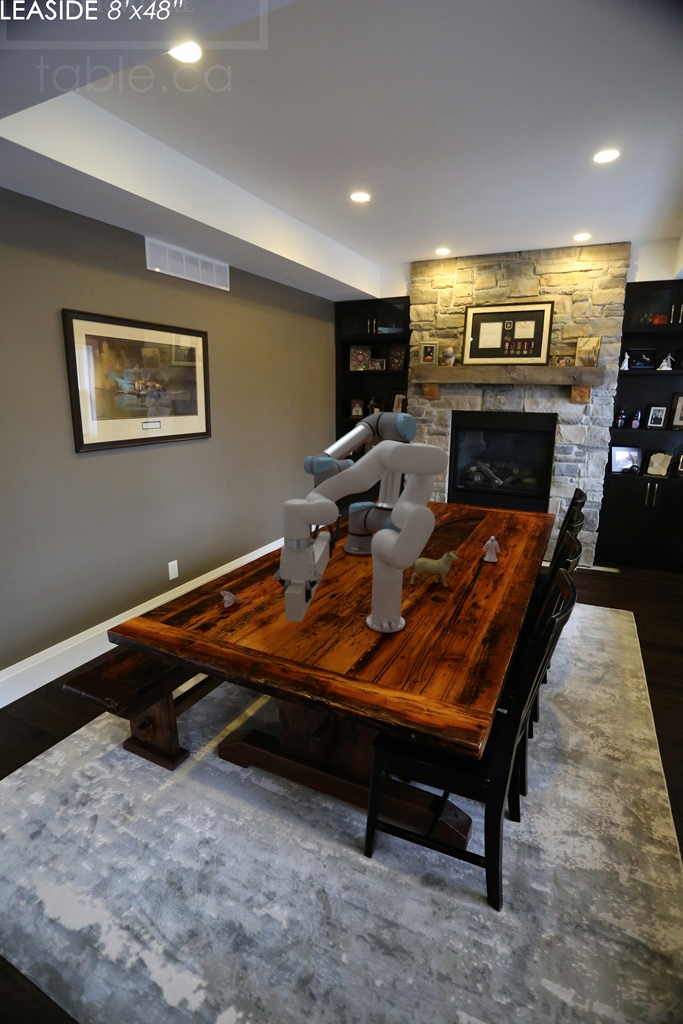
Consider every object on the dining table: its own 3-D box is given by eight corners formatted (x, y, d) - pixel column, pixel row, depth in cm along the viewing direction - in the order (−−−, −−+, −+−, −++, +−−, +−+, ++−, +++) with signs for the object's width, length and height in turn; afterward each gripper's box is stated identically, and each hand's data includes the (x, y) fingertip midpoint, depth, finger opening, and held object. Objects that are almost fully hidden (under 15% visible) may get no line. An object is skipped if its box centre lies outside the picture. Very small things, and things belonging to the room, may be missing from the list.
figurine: (481, 562, 222) (483, 536, 219) (482, 556, 230) (484, 531, 227) (499, 564, 220) (501, 538, 217) (499, 558, 228) (501, 533, 225)
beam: (302, 621, 143) (301, 593, 141) (285, 620, 143) (284, 592, 141) (332, 552, 201) (332, 532, 199) (320, 552, 202) (320, 531, 200)
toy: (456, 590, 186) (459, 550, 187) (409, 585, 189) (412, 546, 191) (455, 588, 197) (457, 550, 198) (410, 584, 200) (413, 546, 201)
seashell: (226, 615, 174) (211, 598, 174) (236, 605, 178) (222, 588, 177) (235, 611, 168) (219, 593, 168) (245, 600, 172) (230, 583, 171)
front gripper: (328, 539, 147) (328, 596, 151) (272, 537, 149) (274, 593, 153) (324, 547, 140) (324, 607, 144) (264, 545, 142) (267, 604, 146)
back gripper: (348, 497, 192) (347, 554, 197) (302, 495, 194) (303, 552, 200) (346, 501, 184) (345, 561, 190) (298, 499, 187) (299, 558, 193)
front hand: (298, 599), depth 149 cm, fingers closed on beam, 4 cm apart
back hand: (323, 556), depth 195 cm, fingers closed on beam, 5 cm apart
